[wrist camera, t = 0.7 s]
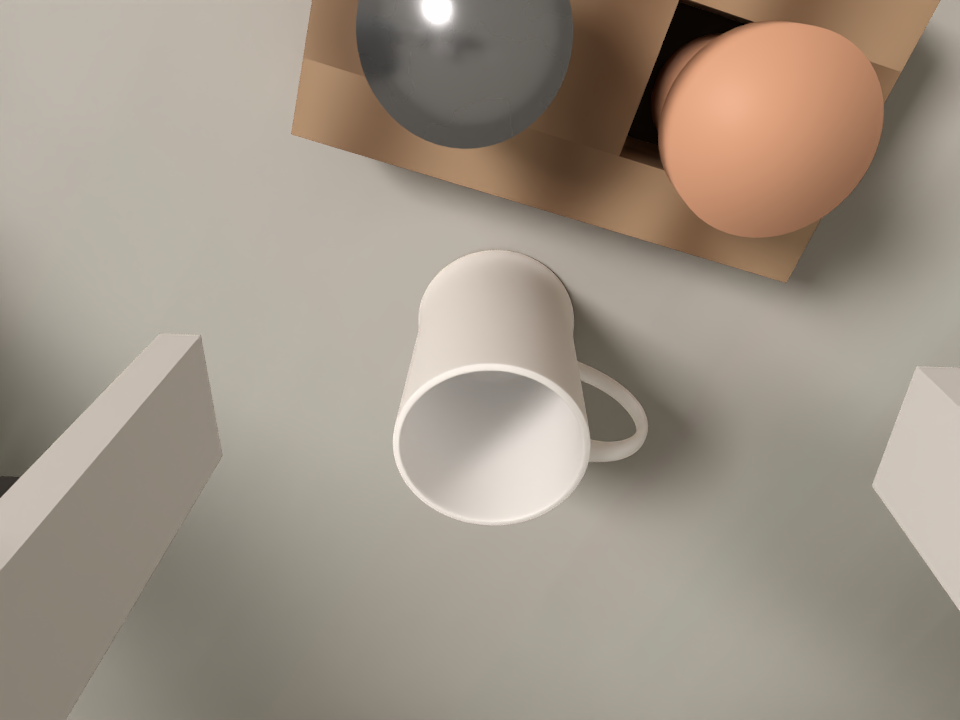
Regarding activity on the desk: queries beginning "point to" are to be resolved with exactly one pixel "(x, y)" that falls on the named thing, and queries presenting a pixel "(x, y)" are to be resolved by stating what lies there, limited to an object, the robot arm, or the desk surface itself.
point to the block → (590, 118)
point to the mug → (500, 394)
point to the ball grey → (464, 64)
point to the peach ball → (767, 125)
